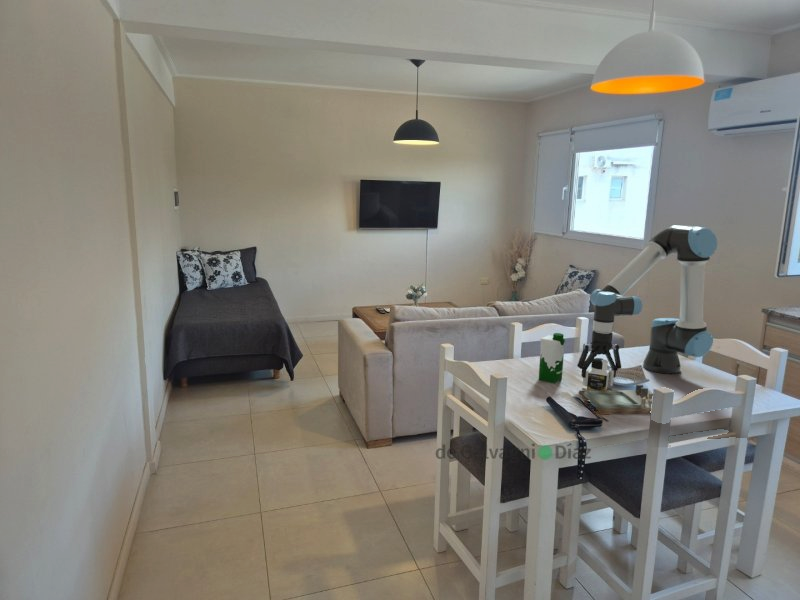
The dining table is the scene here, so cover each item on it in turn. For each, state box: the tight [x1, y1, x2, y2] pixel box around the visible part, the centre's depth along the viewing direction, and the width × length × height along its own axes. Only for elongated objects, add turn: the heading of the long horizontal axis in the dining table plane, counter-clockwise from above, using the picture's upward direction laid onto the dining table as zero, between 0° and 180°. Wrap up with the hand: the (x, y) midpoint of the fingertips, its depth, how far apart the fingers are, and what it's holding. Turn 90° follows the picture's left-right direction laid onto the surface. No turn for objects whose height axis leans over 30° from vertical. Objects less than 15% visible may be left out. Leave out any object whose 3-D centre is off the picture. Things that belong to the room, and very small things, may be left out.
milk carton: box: [538, 332, 567, 384], centre depth 224 cm, size 9×9×20 cm
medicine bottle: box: [586, 357, 609, 390], centre depth 216 cm, size 7×7×12 cm
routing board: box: [578, 384, 654, 415], centre depth 202 cm, size 28×20×4 cm
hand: (597, 385), depth 217 cm, fingers open, 10 cm apart
